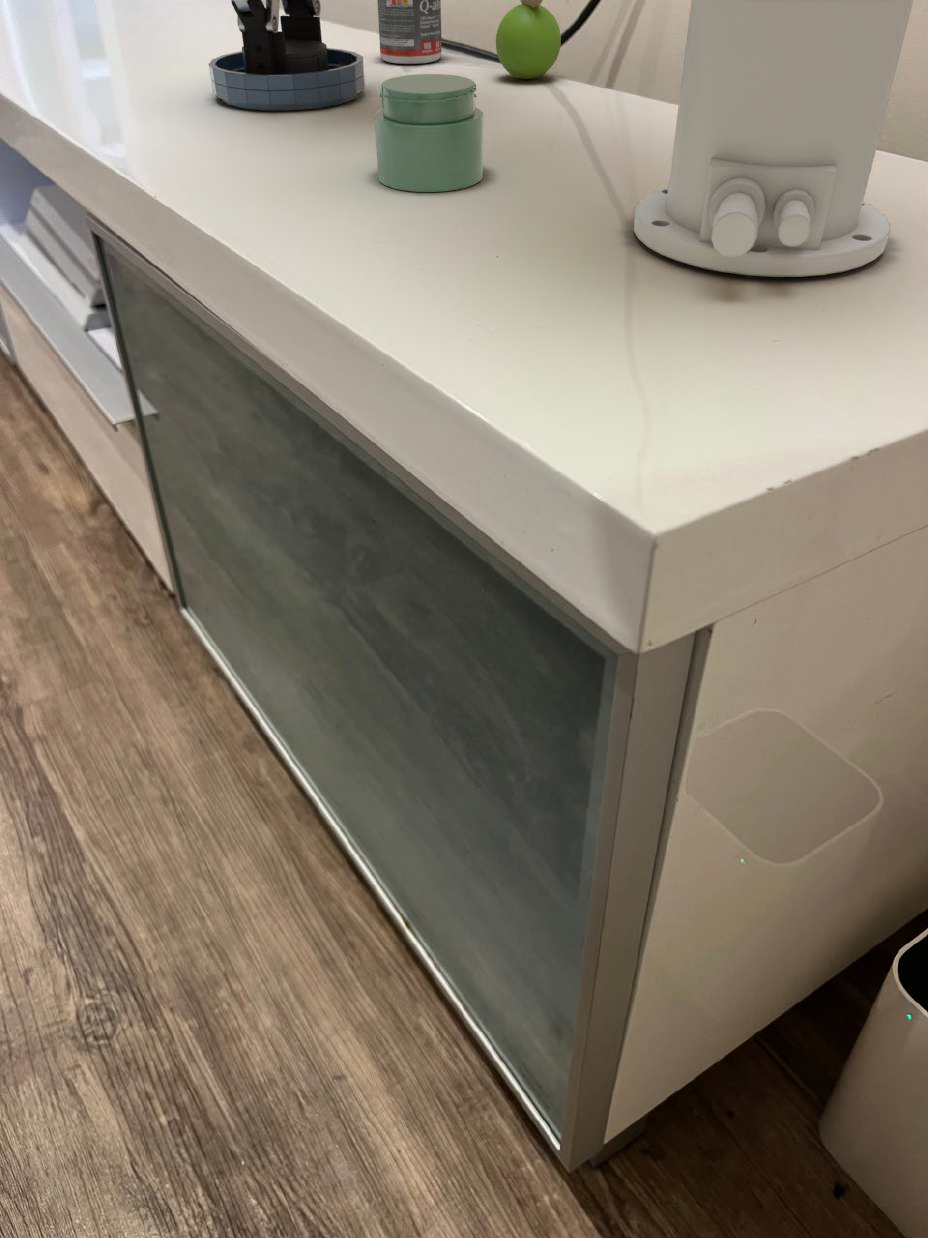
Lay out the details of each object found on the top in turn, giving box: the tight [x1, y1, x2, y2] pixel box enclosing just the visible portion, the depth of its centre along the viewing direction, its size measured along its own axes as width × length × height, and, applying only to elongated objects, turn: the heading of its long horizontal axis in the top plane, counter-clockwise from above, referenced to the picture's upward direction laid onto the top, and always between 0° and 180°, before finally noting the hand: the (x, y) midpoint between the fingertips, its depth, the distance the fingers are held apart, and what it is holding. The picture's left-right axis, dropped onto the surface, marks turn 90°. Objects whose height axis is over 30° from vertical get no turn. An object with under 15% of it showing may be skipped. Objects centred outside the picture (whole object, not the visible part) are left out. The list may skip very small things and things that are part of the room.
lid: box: [241, 39, 329, 74], centre depth 75 cm, size 7×7×2 cm
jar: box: [374, 73, 484, 193], centre depth 56 cm, size 6×6×5 cm
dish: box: [208, 47, 366, 112], centre depth 75 cm, size 12×12×2 cm
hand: (288, 79), depth 75 cm, fingers closed on lid, 6 cm apart
